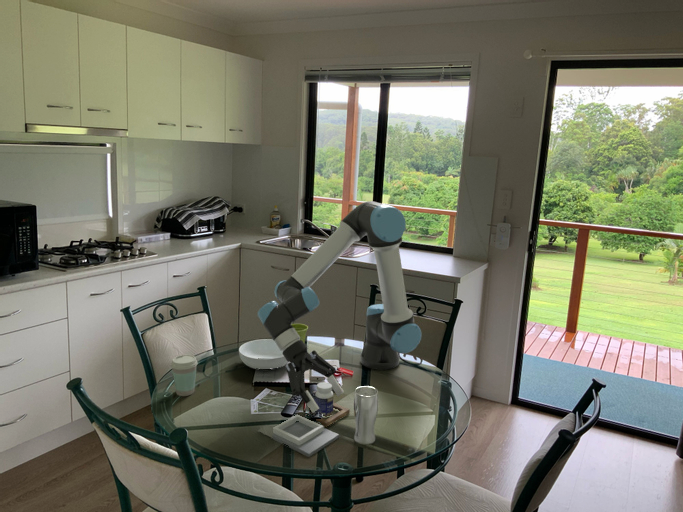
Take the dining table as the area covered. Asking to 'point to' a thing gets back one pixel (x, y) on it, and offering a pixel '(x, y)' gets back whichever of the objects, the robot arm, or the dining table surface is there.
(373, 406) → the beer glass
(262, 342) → the serving bowl
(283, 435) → the dock
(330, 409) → the pill bottle
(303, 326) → the plant pot
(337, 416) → the wooden picture frame
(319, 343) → the dining table surface
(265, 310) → the robot arm
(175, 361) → the coffee cup
